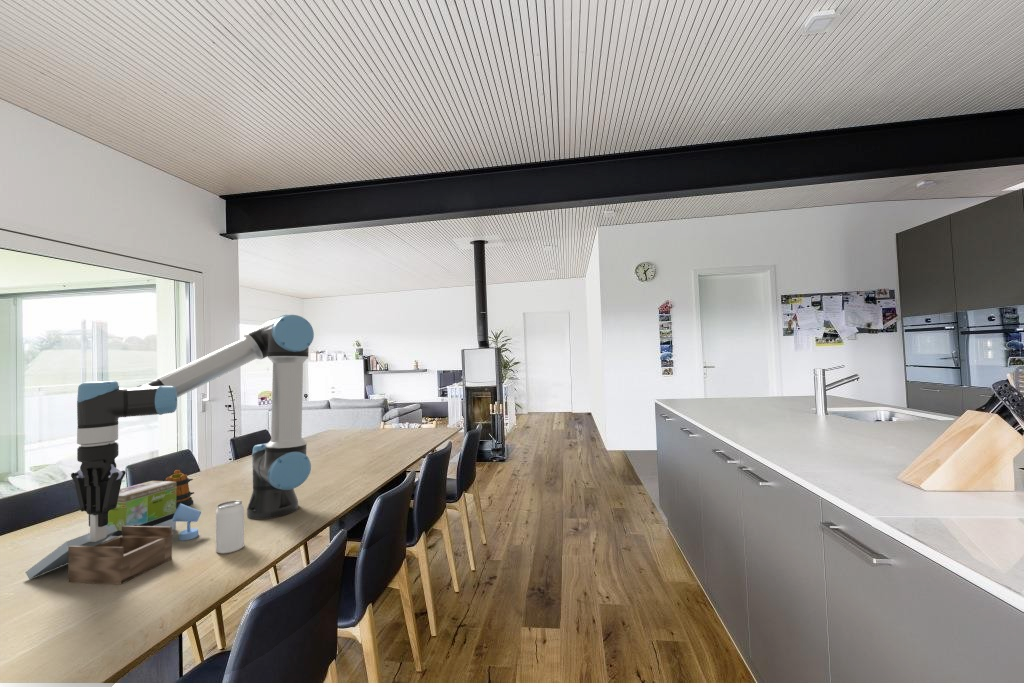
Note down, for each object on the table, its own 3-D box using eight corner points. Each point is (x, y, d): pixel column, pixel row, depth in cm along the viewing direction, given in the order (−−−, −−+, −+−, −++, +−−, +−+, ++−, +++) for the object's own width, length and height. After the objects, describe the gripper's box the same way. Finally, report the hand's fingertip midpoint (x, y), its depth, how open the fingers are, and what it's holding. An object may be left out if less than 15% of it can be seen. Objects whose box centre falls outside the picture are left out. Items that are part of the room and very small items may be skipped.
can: (250, 545, 122) (249, 501, 122) (227, 555, 116) (227, 508, 116) (232, 543, 124) (232, 499, 124) (209, 552, 118) (209, 506, 118)
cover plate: (117, 530, 116) (113, 524, 116) (70, 548, 105) (66, 541, 105) (80, 558, 117) (76, 551, 117) (29, 579, 106) (25, 572, 106)
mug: (194, 506, 158) (194, 473, 158) (157, 513, 152) (157, 478, 152) (194, 497, 168) (194, 467, 169) (159, 503, 162) (159, 471, 163)
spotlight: (171, 543, 125) (201, 536, 129) (171, 507, 125) (201, 502, 130) (172, 538, 129) (201, 531, 133) (171, 503, 129) (200, 498, 134)
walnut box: (171, 558, 115) (171, 526, 115) (121, 584, 102) (121, 548, 102) (124, 557, 117) (124, 525, 117) (68, 582, 104) (68, 546, 104)
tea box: (126, 550, 122) (125, 495, 122) (96, 548, 124) (96, 494, 124) (177, 529, 136) (177, 480, 137) (150, 527, 138) (150, 479, 139)
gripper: (136, 440, 114) (136, 534, 113) (91, 440, 116) (91, 533, 115) (105, 446, 107) (105, 546, 106) (58, 446, 108) (58, 545, 108)
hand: (98, 539), depth 110 cm, fingers closed
